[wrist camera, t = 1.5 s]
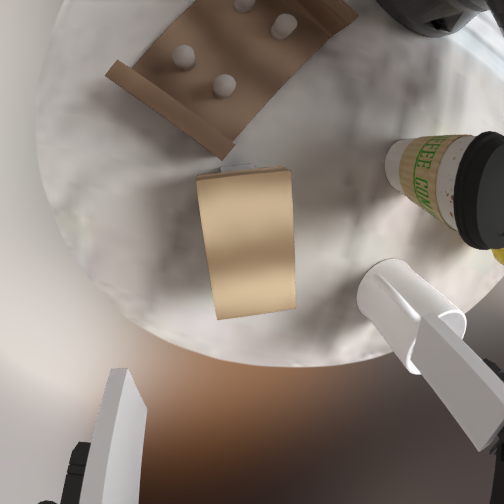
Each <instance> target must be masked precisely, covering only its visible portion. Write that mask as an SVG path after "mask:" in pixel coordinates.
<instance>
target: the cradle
mask: <svg viewBox="0 0 504 504" xmlns="http://www.w3.org/2000/svg"><path fill="white" fill-rule="evenodd" d="M358 16H359V15H358V14H357V13H356V12H355V11H354V10H353V9H352V8H350V7H349V6H348V5H347V4H346V3H345V2H344V1H343V0H196V1H195V2H194V3H193V4H192V5H191V6H190V7H189V8H188V9H187V10H186V11H185V12H183V13H182V14H181V15H180V16H179V17H178V18H177V19H176V20H175V21H174V22H173V23H172V24H171V25H170V26H169V27H168V28H167V30H166V31H165V32H164V33H163V34H162V35H161V36H160V37H159V38H158V39H157V40H156V41H155V42H154V43H153V45H152V46H151V47H150V48H149V49H148V50H147V51H146V53H145V54H144V55H143V56H142V57H141V58H140V60H139V61H138V62H137V63H136V64H135V65H134V67H133V68H132V69H131V68H129V67H128V66H126V65H125V64H123V63H122V62H120V61H119V60H117V61H116V62H115V63H114V64H113V66H112V67H111V68H110V70H109V71H108V72H107V73H106V75H105V76H106V77H107V78H109V79H110V80H112V81H113V82H115V83H116V84H118V85H119V86H120V87H122V88H123V89H125V90H126V91H128V92H129V93H131V94H132V95H133V96H135V97H136V98H138V99H139V100H141V101H142V102H143V103H145V104H146V105H148V106H149V107H150V108H152V109H153V110H155V111H156V112H157V113H159V114H160V115H162V116H163V117H164V118H166V119H167V120H168V121H170V122H171V123H173V124H174V125H175V126H177V127H178V128H179V129H181V130H182V131H183V132H185V133H186V134H187V135H189V136H190V137H191V138H193V139H194V140H195V141H197V142H198V143H199V144H201V145H202V146H203V147H205V148H206V149H207V150H209V151H210V152H211V153H212V154H214V155H215V156H216V157H218V158H219V159H220V160H221V161H222V160H223V159H224V158H225V157H226V156H227V154H228V153H229V152H230V151H231V150H232V148H233V147H234V146H235V144H234V143H232V142H233V141H234V139H235V138H236V137H237V136H238V135H239V134H240V132H241V131H242V130H243V129H244V128H245V127H246V125H247V124H248V123H249V122H250V121H251V120H252V119H253V117H254V116H255V115H256V114H257V113H258V112H259V111H260V110H261V108H262V107H263V106H264V105H265V104H266V103H267V102H268V101H269V100H270V99H271V97H272V96H273V95H274V94H275V93H276V92H277V91H278V90H279V89H280V88H281V87H282V86H283V85H284V83H285V82H286V81H287V80H288V79H289V78H290V77H291V76H292V75H293V74H294V73H295V72H296V71H297V70H298V69H299V68H300V67H301V66H302V65H303V64H304V63H305V62H306V61H307V60H308V59H309V58H310V57H311V56H312V55H313V54H314V53H315V52H316V51H317V50H318V49H319V48H320V47H321V46H322V45H323V44H324V43H325V42H326V41H327V40H328V39H329V38H330V37H331V36H333V35H334V34H336V33H337V32H339V31H340V30H342V29H343V28H345V27H346V26H348V25H349V24H351V23H352V22H353V21H354V20H355V19H356V18H357V17H358Z"/></svg>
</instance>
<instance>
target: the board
mask: <svg viewBox="0 0 504 504" xmlns="http://www.w3.org/2000/svg"><path fill="white" fill-rule="evenodd" d="M196 186H197V194H198V202H199V209H200V216H201V223H202V230H203V237H204V243H205V250H206V256H207V263H208V269H209V275H210V281H211V287H212V293H213V299H214V305H215V311H216V316H217V320H222V319H230V318H237V317H244V316H251V315H258V314H265V313H271V312H278V311H284V310H290V309H296V281H295V248H294V223H293V202H292V184H291V171H290V170H288V169H286V168H284V167H282V166H278V167H267V168H256V169H246V170H237V171H228V172H220V173H212V174H204V175H197V178H196Z"/></svg>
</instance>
